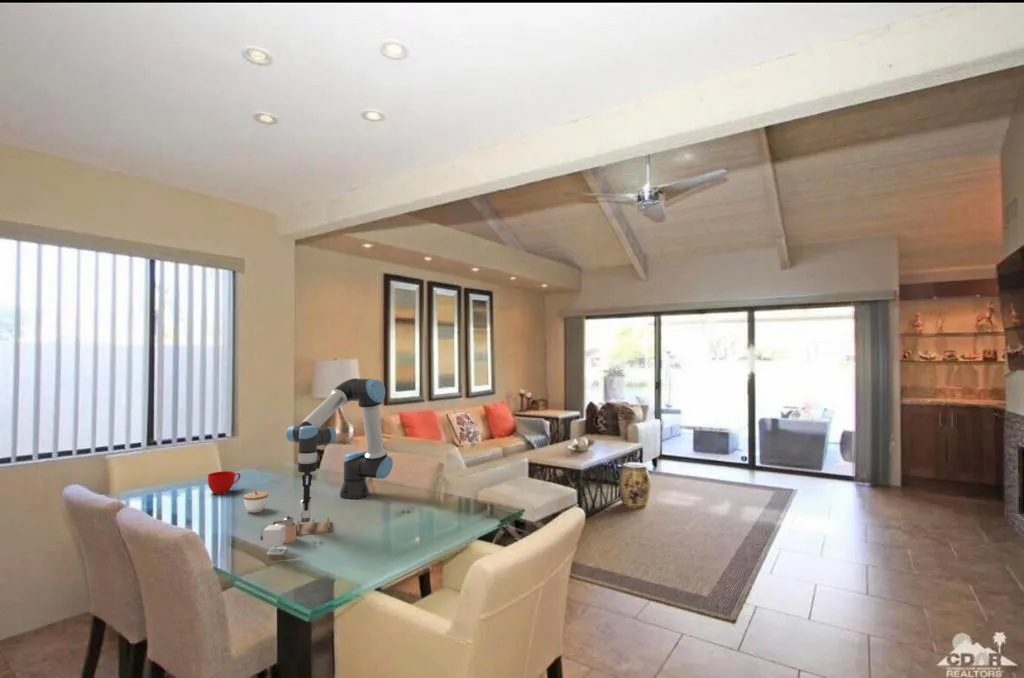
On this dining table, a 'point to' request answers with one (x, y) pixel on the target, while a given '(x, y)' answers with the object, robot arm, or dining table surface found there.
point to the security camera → (274, 539)
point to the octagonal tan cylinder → (290, 533)
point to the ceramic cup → (221, 481)
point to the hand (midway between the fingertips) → (305, 516)
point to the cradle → (268, 525)
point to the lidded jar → (255, 501)
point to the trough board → (313, 528)
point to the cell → (302, 513)
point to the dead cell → (288, 521)
